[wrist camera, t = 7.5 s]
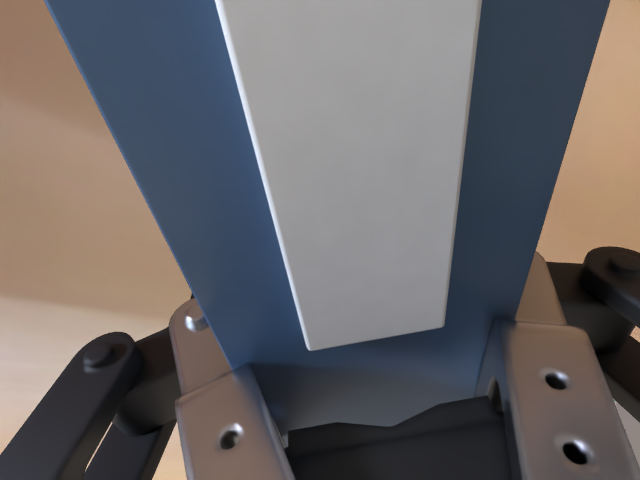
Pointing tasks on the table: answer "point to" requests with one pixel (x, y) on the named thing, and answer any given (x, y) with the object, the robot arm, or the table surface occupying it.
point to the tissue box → (344, 176)
